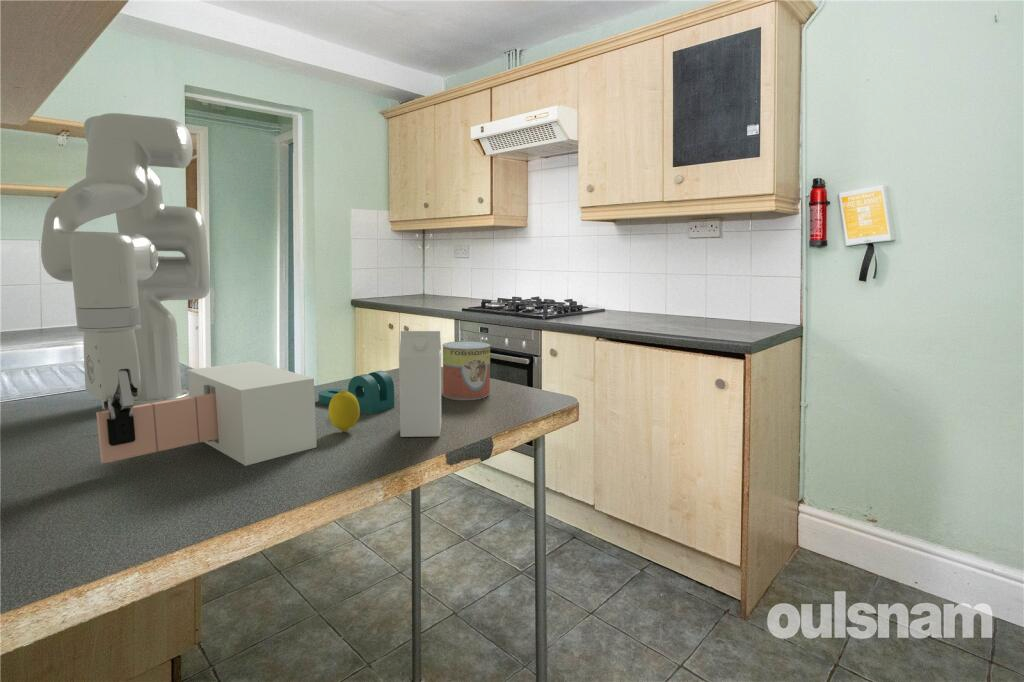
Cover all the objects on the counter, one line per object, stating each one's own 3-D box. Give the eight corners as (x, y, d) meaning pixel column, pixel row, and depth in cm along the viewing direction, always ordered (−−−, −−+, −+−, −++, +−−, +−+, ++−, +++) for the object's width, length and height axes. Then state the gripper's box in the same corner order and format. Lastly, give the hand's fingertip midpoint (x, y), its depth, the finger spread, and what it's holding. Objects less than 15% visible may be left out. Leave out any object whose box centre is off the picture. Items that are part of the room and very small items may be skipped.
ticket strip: (103, 463, 82) (98, 413, 81) (100, 461, 83) (96, 412, 82) (230, 435, 96) (227, 392, 95) (227, 434, 97) (224, 391, 96)
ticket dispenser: (240, 467, 87) (235, 391, 85) (187, 436, 102) (182, 370, 100) (316, 447, 97) (313, 378, 95) (258, 421, 111) (254, 361, 109)
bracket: (394, 407, 123) (393, 372, 122) (372, 415, 117) (371, 377, 116) (335, 396, 132) (334, 363, 131) (312, 403, 126) (310, 368, 125)
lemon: (332, 438, 101) (330, 394, 100) (326, 429, 106) (325, 388, 105) (363, 434, 104) (362, 391, 103) (356, 426, 109) (355, 385, 108)
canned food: (454, 402, 127) (454, 349, 126) (435, 391, 137) (435, 342, 135) (498, 396, 133) (499, 346, 131) (477, 387, 143) (477, 340, 141)
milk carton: (404, 426, 109) (402, 328, 106) (441, 425, 110) (440, 328, 107) (400, 437, 102) (398, 333, 99) (439, 437, 103) (439, 333, 100)
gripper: (64, 316, 84) (76, 436, 87) (91, 326, 74) (104, 461, 77) (123, 313, 90) (133, 425, 92) (156, 321, 79) (166, 447, 82)
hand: (120, 441), depth 84 cm, fingers closed
